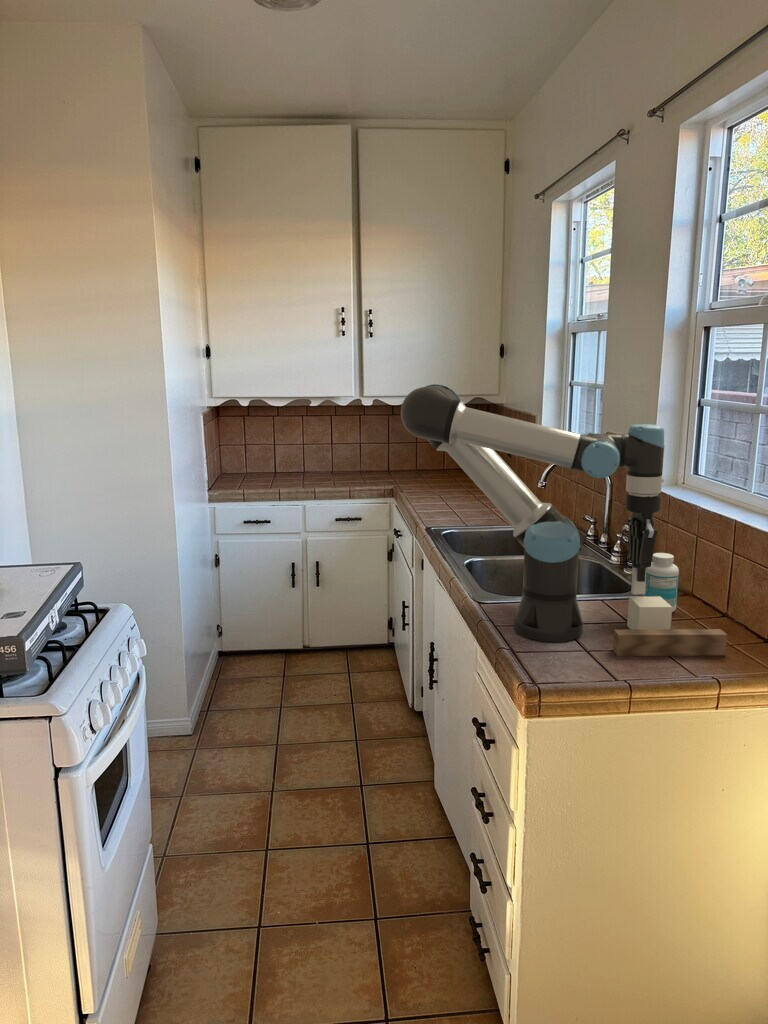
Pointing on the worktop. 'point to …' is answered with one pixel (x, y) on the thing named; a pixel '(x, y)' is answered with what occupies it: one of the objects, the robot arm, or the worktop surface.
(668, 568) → the pill bottle
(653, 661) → the worktop surface
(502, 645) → the worktop surface
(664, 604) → the block
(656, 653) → the board
